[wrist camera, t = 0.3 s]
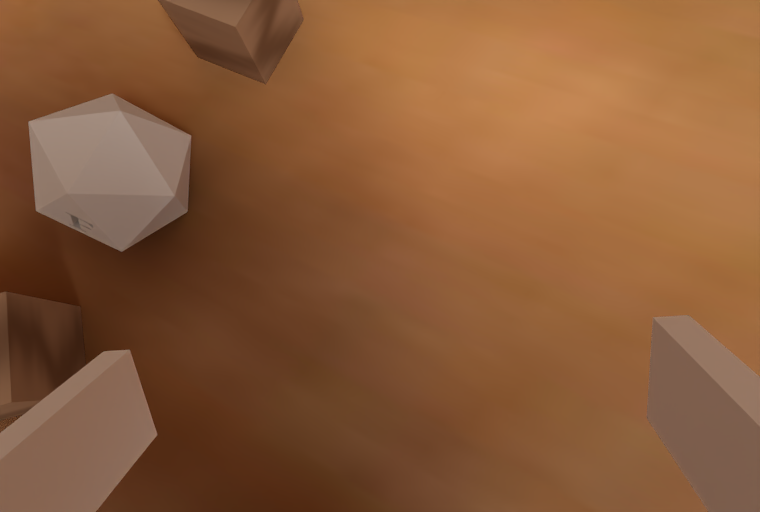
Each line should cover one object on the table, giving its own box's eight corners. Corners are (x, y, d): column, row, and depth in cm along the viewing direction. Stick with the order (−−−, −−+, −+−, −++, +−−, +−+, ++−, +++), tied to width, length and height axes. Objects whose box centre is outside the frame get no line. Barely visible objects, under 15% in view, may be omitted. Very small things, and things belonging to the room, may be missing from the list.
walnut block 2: (266, 84, 35) (235, 27, 29) (198, 57, 36) (155, -4, 30) (304, 20, 36) (281, -49, 30) (237, -5, 37) (203, -75, 31)
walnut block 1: (89, 397, 30) (11, 402, 25) (0, 420, 31) (-99, 431, 25) (81, 306, 32) (6, 291, 26) (-4, 329, 32) (-98, 319, 26)
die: (77, 180, 35) (-33, 225, 26) (114, 65, 32) (3, 70, 23) (187, 234, 37) (119, 295, 27) (232, 130, 33) (173, 159, 24)
